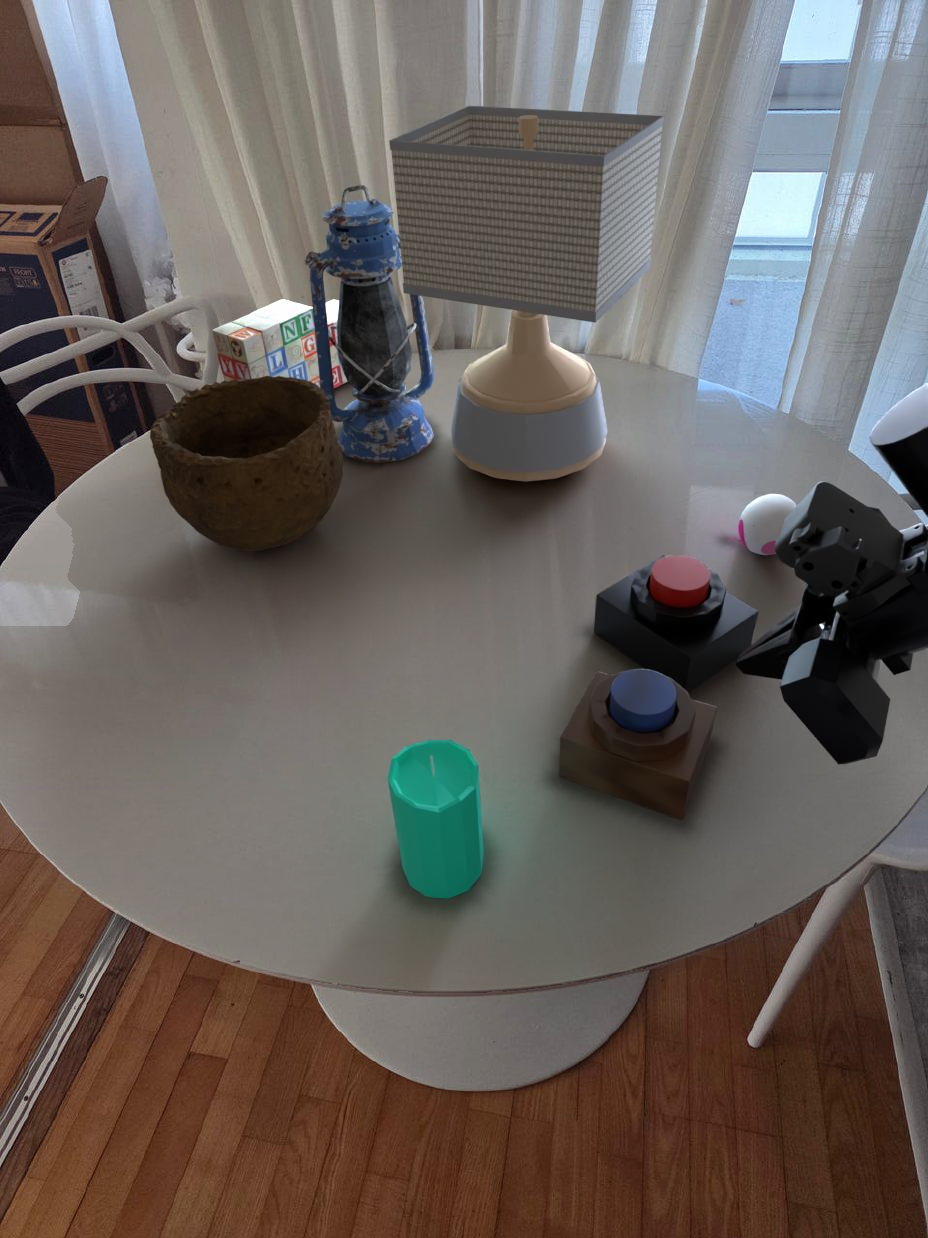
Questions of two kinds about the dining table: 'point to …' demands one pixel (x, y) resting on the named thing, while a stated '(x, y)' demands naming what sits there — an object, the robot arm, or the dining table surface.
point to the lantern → (370, 334)
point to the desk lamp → (528, 263)
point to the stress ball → (764, 522)
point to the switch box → (674, 629)
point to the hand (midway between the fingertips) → (740, 665)
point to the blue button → (642, 700)
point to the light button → (679, 581)
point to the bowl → (250, 460)
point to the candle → (437, 816)
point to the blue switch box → (636, 750)
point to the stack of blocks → (276, 344)
